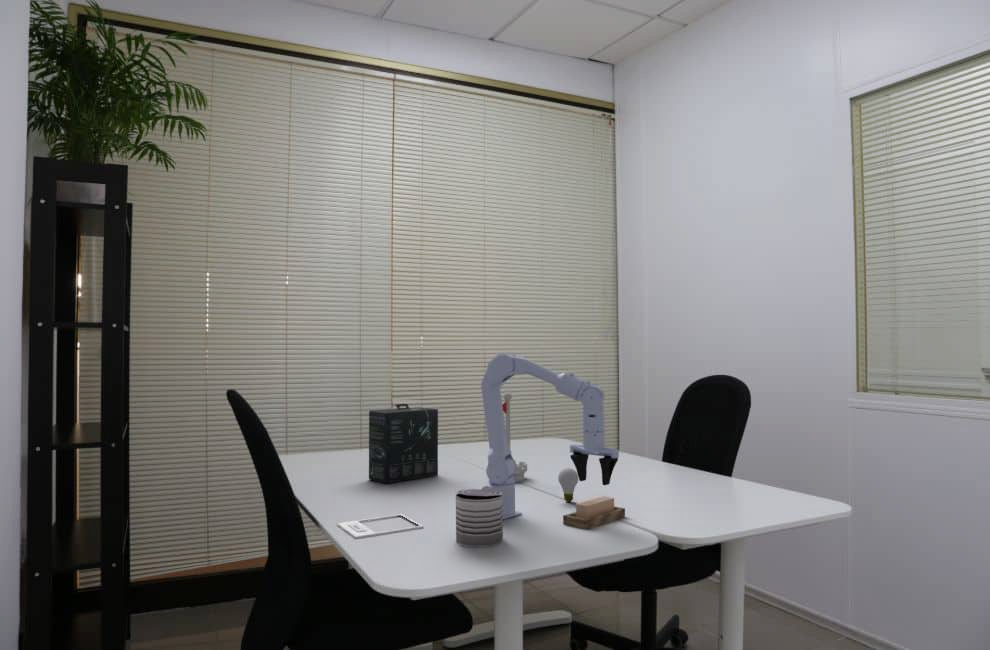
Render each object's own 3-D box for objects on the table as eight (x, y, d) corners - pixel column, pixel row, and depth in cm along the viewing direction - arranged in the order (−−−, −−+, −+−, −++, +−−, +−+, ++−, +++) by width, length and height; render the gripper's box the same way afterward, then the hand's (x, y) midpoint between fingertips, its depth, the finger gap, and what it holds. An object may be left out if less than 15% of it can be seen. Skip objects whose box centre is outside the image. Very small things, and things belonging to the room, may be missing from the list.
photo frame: (337, 522, 178) (401, 513, 187) (337, 526, 178) (401, 517, 187) (355, 535, 165) (423, 525, 174) (355, 540, 165) (423, 529, 174)
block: (587, 521, 175) (586, 506, 175) (576, 519, 177) (576, 503, 177) (614, 513, 183) (614, 498, 183) (603, 510, 186) (603, 496, 186)
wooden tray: (586, 529, 171) (586, 520, 171) (563, 524, 177) (563, 515, 177) (625, 516, 183) (624, 508, 183) (602, 512, 189) (602, 504, 189)
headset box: (419, 471, 252) (419, 401, 253) (439, 475, 243) (439, 403, 244) (367, 479, 237) (366, 405, 238) (386, 484, 228) (386, 407, 229)
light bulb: (567, 498, 205) (566, 465, 205) (582, 502, 201) (582, 467, 201) (554, 502, 201) (554, 468, 201) (570, 505, 197) (569, 470, 197)
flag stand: (503, 474, 245) (503, 390, 246) (534, 477, 238) (533, 391, 238) (482, 480, 235) (481, 392, 235) (513, 484, 227) (512, 394, 228)
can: (445, 541, 163) (445, 490, 163) (480, 531, 171) (480, 483, 171) (478, 551, 154) (478, 497, 155) (513, 540, 162) (512, 489, 163)
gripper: (625, 431, 178) (626, 484, 178) (580, 427, 188) (581, 476, 188) (609, 434, 173) (610, 488, 173) (564, 429, 183) (565, 480, 183)
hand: (594, 482), depth 180 cm, fingers open, 7 cm apart
